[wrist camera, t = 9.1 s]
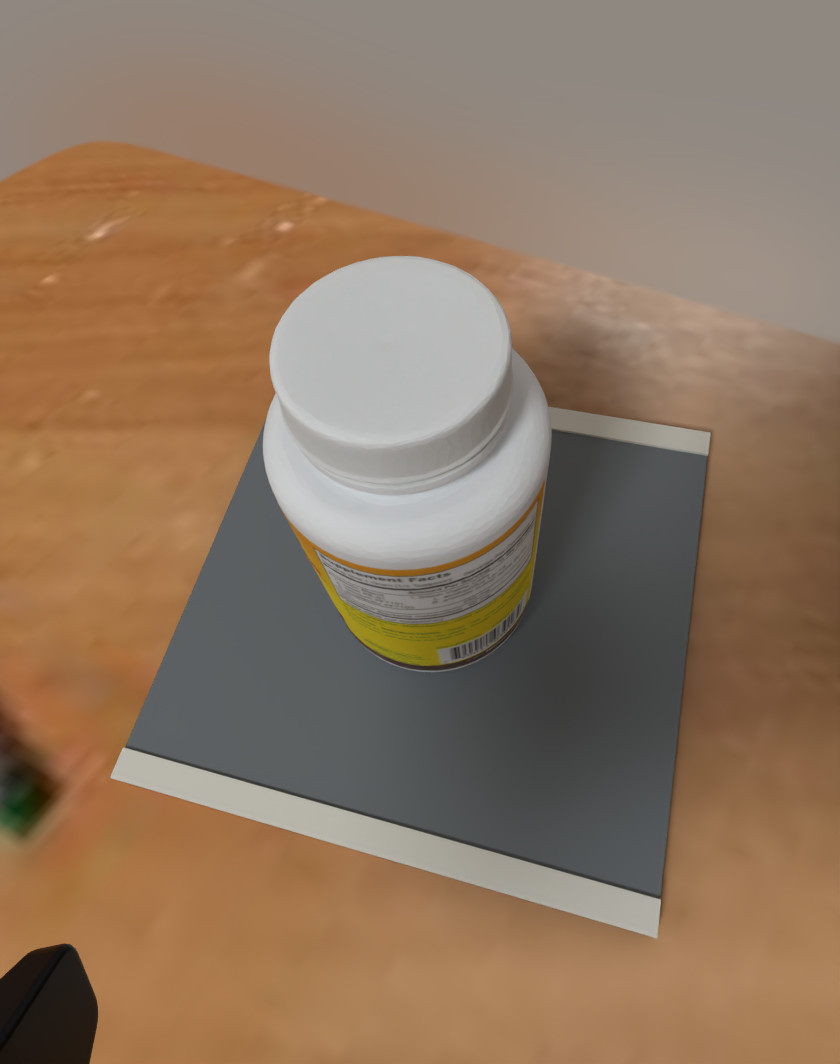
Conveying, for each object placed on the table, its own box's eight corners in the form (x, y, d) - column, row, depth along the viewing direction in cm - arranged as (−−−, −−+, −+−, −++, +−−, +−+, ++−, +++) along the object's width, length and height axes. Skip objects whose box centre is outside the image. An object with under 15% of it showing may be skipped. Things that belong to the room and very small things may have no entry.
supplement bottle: (375, 482, 22) (297, 197, 13) (551, 524, 21) (600, 244, 12) (308, 647, 20) (157, 443, 11) (501, 706, 19) (514, 532, 10)
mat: (705, 443, 22) (710, 432, 22) (651, 936, 17) (656, 938, 16) (292, 376, 25) (287, 364, 24) (120, 780, 19) (110, 777, 19)
